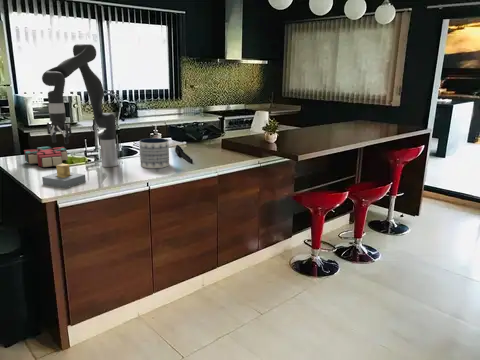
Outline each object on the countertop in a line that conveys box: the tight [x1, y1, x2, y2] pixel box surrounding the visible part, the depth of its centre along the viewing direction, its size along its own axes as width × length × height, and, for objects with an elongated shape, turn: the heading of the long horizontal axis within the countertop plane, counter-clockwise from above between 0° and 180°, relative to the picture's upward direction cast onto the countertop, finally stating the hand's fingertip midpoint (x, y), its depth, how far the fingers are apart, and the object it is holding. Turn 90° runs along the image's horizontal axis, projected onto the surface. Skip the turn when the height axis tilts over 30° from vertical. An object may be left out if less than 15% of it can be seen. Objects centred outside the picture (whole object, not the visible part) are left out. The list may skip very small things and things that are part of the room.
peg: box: [55, 163, 71, 178], centre depth 209 cm, size 4×4×10 cm
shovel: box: [174, 144, 194, 164], centre depth 273 cm, size 35×4×8 cm, turn 26°
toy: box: [23, 146, 69, 168], centre depth 252 cm, size 24×9×30 cm
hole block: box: [41, 171, 87, 189], centre depth 210 cm, size 14×16×4 cm
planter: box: [138, 137, 170, 169], centre depth 251 cm, size 18×18×16 cm
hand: (60, 143), depth 205 cm, fingers open, 8 cm apart
